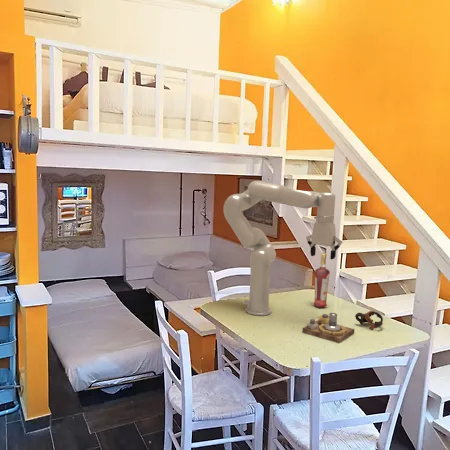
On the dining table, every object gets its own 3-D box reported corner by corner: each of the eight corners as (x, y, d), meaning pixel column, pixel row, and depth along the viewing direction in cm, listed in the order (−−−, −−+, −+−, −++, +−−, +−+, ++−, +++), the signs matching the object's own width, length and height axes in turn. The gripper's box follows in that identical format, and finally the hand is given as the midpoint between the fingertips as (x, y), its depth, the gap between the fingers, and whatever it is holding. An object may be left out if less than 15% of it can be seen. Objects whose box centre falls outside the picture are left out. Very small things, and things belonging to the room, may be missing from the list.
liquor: (324, 309, 220) (327, 255, 217) (310, 307, 225) (314, 253, 221) (329, 306, 227) (333, 253, 223) (316, 303, 231) (319, 251, 227)
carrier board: (302, 332, 187) (303, 318, 187) (318, 323, 199) (319, 311, 198) (339, 343, 177) (340, 328, 176) (354, 333, 188) (355, 320, 188)
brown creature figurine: (377, 324, 203) (384, 312, 199) (377, 339, 196) (385, 327, 191) (352, 315, 205) (358, 303, 200) (351, 330, 197) (358, 318, 192)
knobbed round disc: (321, 330, 185) (322, 313, 184) (328, 327, 190) (329, 310, 189) (335, 334, 181) (337, 317, 180) (342, 330, 186) (343, 313, 185)
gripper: (304, 218, 199) (301, 255, 201) (339, 222, 188) (336, 261, 190) (311, 217, 205) (309, 253, 207) (346, 221, 194) (344, 259, 196)
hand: (322, 257), depth 199 cm, fingers open, 9 cm apart
